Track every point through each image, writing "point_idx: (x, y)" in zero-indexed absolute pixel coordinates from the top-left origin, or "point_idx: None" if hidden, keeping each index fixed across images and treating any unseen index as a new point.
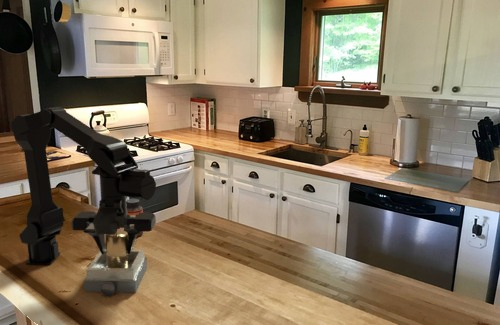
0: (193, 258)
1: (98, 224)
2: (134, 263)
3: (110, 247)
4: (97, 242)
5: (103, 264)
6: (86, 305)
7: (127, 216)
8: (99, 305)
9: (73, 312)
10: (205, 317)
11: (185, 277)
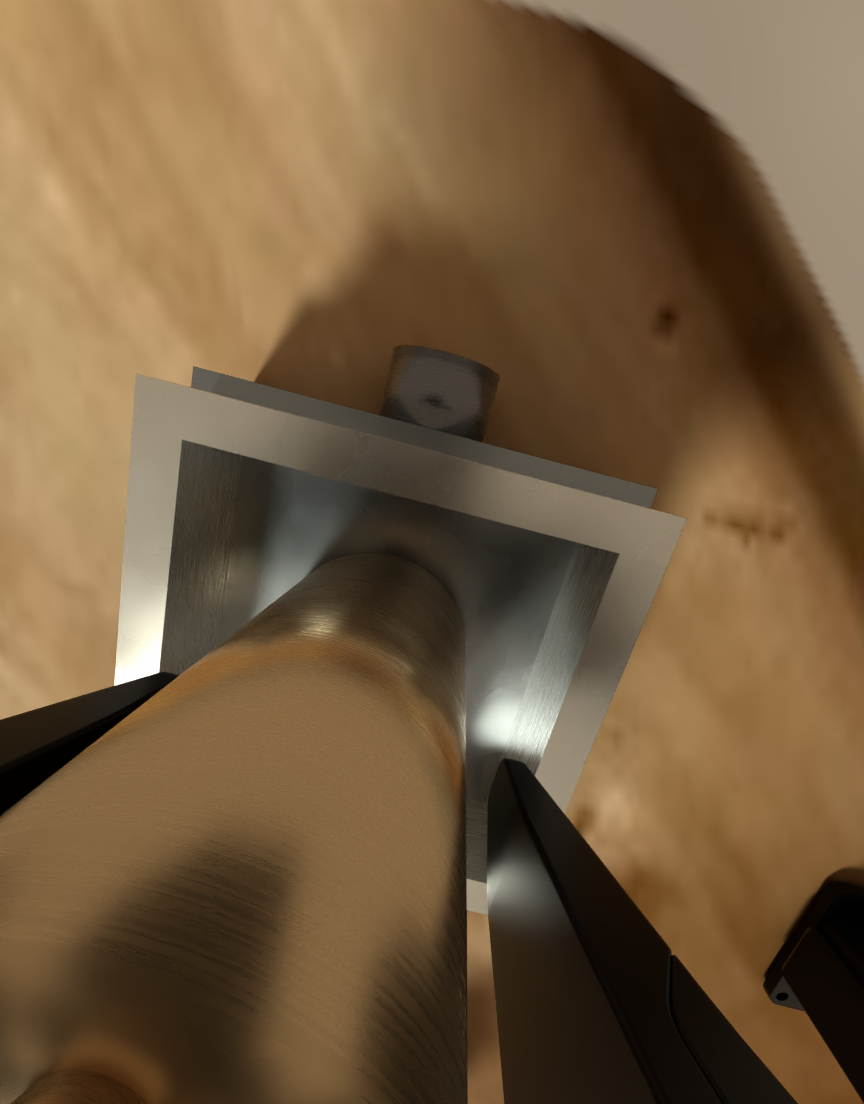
0: None
1: None
2: (152, 551)
3: (366, 738)
4: (656, 961)
5: (492, 732)
6: (598, 276)
7: None
8: (503, 253)
9: (695, 187)
10: None
11: None
